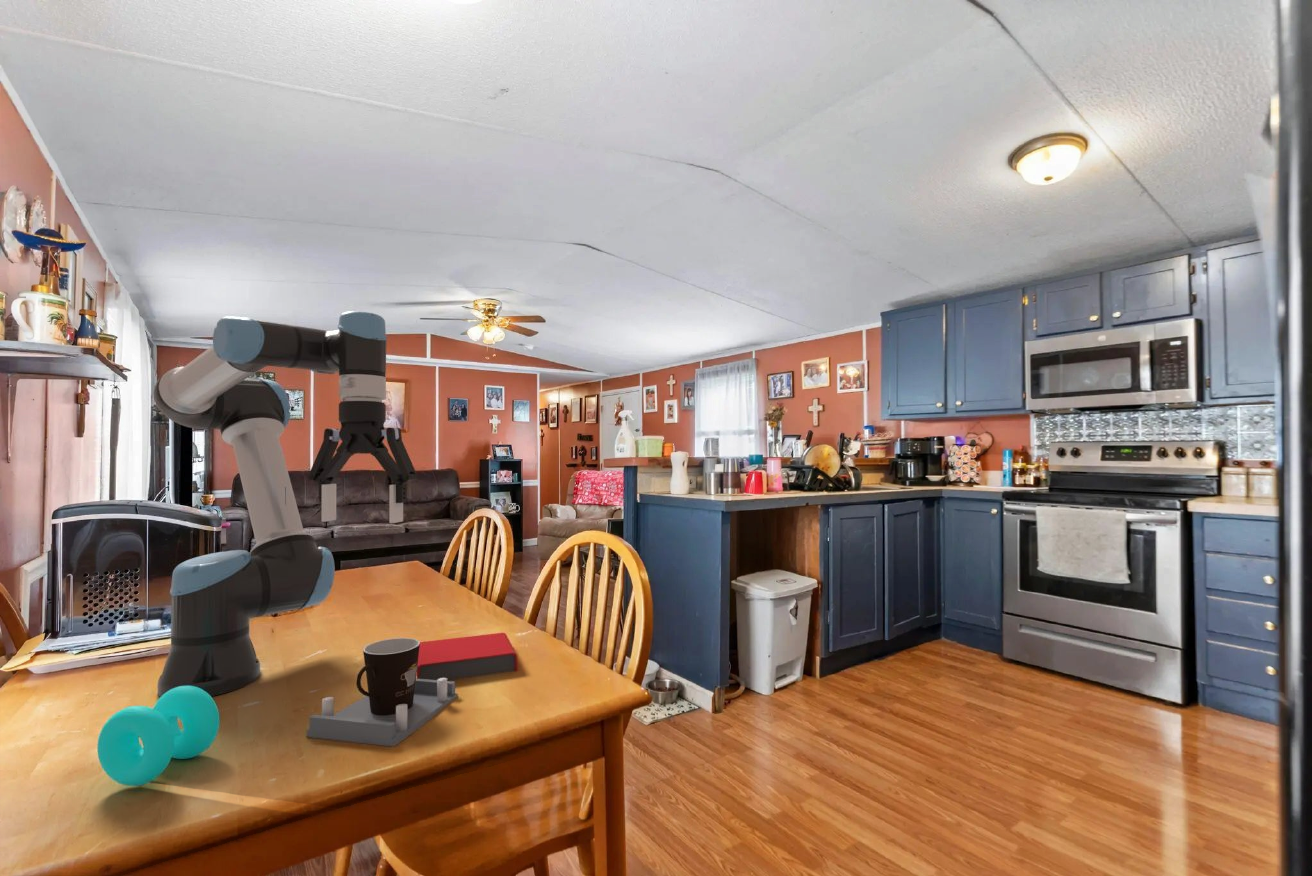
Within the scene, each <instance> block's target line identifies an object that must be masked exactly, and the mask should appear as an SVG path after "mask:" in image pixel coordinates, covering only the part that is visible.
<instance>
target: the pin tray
mask: <svg viewBox="0 0 1312 876" xmlns="http://www.w3.org/2000/svg"><path fill="white" fill-rule="evenodd" d="M458 696H459V694H458V693H457V692H456V681H453V680H449V681H447V678H439V679H438V680H429V679H417V677H416V682H415V690H414V699H413V705H412V707H411V708H410V709H408V710H407V704H399V705H397V706H396V714H393V715H375V714H373V713H371V709H370V701H369V697H368V696H365V695H364V696H363V697H361V698H360V699H358V700H357V701H355V702H353V703H351V704H350V705H348V706H346V707H344V708H342V709H341V710H339V711H337V712H336V713H334V712H335V711H334V704H335V703H334V702H335V701H334V698H335V697H333V696H328V697H327V696H326V697H323V698H322V700H321V714H312V715H311V716H309V717H308V719H309V721H308V722H309V723H308V725H309V726H308V728H307V729H306V732H305V734H306V735H305V736H306V738H313V739H324V740H330V741H331V740H332V741H340V742H349V743H356V744H357V743H359V744H366V745H367V744H368V745H376V746H385V747H393V748H394V747H396V746H397V745H399V744H400V743H401V742H403V741H404V740H405V739H406V738H408V737H409V736H411V734H413V733H414V732H416V731H417V730H418V729H420V728H422V726H423V725H425V724H426V723H427V722H429V720H431V719H432V718H433V717H434V716H436V715H437V714H438V713H440V712H441V710H443V709H444V708H445V707H446V706H448V705H449V704H450V703H451V702H452V701H454V700H455V699H456V698H457V697H458ZM453 699H454V700H453Z"/></svg>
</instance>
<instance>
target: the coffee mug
mask: <svg viewBox="0 0 1312 876" xmlns="http://www.w3.org/2000/svg"><path fill="white" fill-rule="evenodd" d="M420 642H421V641H420V640H419V639H416V638H410V637H397V638H396V637H395V638H388V639H382V640H378V641H373V642H371V643H369V644H367V645H365V646H364V647H363V649H362V650H363V652H362V653H363V654H362V655H363V660H364V661H363V662H364V666H363V667H362V668H361V669H360V670H359V671H358V674H357V677H356V683H355V684H356V688H357V690H358V691H359V692H360V693H361V694H362V695H363V696H364V697H365V696H368V697H369V701H370V709H371V713H373V714H375V715H393V714H396V706H397V705H399V704H407V710H408V709H410V708H411V707H412V705H413V699H414V690H415V682H416V678H417V665H418V656H419V648H420ZM364 673H365V676H366V684H367V691H366V690H365V689H364V688H363V686H362V684H361V681H362V677H363V674H364Z"/></svg>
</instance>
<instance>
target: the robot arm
mask: <svg viewBox="0 0 1312 876" xmlns="http://www.w3.org/2000/svg"><path fill="white" fill-rule="evenodd" d="M338 318H339V321H338V324H337V328H338V329H335V330H325V329H320V328H314V327H313V328H312V327H307V326H298V325H293V324H286V323H279V322H274V321H273V322H272V321H269V320H261V319H257V318H256V319H255V318H252V317H247V316H246V317H245V316H243V317H240V316H229V315H228V316H224V317H221V318H220V319H219V320H218V321H217V322H216V326H215V327H214V330H213V335H212V346H210V347H209V348H207V349H206V350H204V351H203V352H202V353H200V354H199V355H198V356H196V358H194V359H193V360H191V361H190V362H188V363H187V364H186V365H184V366H177V367H174V368H172V369H169V370H168V371H166V372H165V373H164V374H163V375H161V376H160V377H159V378H158V379H157V381H156V383H155V385H154V388H153V400H154V402H155V405H156V407H157V409H158V410H159V411H160V412H161V413H162V414H163V415H164V416H165V417H166V418H168V419H169V420H171V421H172V422H174V423H176V424H178V425H181V426H183V427H186V428H191V429H199V430H219V431H220V434H221V435H220V436H221V438H222V441H224V442H225V443H226V444H227V445H230V446H232V449H233V452H234V456H235V460H236V466H237V469H238V473H239V477H240V482H241V485H242V490H243V494H244V499H245V502H246V506H247V511H248V516H249V518H250V523H251V526H252V531H253V535H254V540H255V544H254V546H253V547H252V548H251V549H250V552H249V551H248V550H245V549H233V550H227V551H218V552H212V553H208V554H204V555H200V556H196V557H193V558H190V559H187V560H185V561H183V562H181V563H179V564H178V565H176V567H175V568H174V569H173V571H172V578H171V584H170V585H171V586H170V590H169V595H170V597H171V598H170V604H171V605H170V648H169V652H168V654H167V656H166V657H167V658H166V660H165V662H164V666H163V670H162V672H161V675H160V676H159V678H158V680H157V696H158V697H159V698H160V697H161V696H162V695H163V694H165V693H166V692H168V691H169V690H171V689H173V688H176V687H179V686H195V687H198V688H200V689H202V690H204V691H205V692H207V693H208V694H209V695H210V696H211V697H213V696H214V697H215V696H217V695H218V696H219V695H222V694H226V693H230V692H233V691H235V690H239V689H242V688H244V687H246V686H249V685H251V684H252V683H254V682H255V681H256V680H258V678H259V677H260V676H261V662H260V660H259V659H258V658H257V654H256V650H255V648H254V645H253V642H252V639H251V637H250V622H251V621H250V620H252V619H255V618H260V617H264V616H269V615H274V614H275V615H276V614H279V613H285V612H289V611H294V610H303V609H306V608H307V607H311V606H312V607H313V606H315V605H319V604H321V603H322V602H324V601H326V598H327V597H328V596H329V595H330V592H331V590H332V587H333V584H334V582H335V571H336V567H335V560H334V556H333V554H332V552H331V550H329V549H328V547H324V546H317V542H316V540H315V537H314V535H313V534H311V533H309V532H306V531H305V530H304V527H303V524H302V519H301V515H300V513H299V508H298V505H297V501H296V497H295V493H294V489H293V484H292V482H291V477H290V475H289V470H288V467H287V464H286V460H285V456H284V452H283V449H282V445H281V442H280V437H281V436H282V434H283V433H284V432H285V428H287V426H288V424H289V422H290V418H291V412H290V409H291V403H290V400H289V399H290V398H289V397H288V394H287V392H286V390H285V389H284V387H283V386H281V385H280V383H278V382H277V381H274V380H270V379H263V378H260V377H251V376H252V375H254V374H256V373H258V372H259V371H261V370H262V369H264V368H266V367H277V368H288V369H289V368H290V369H298V370H307V371H308V370H309V371H311V372H313V373H315V374H316V373H317V374H320V375H321V374H328V375H333V374H336V373H337V374H338V398H339V399H341V400H342V401H340V402H339V403H338V421H339V423H340V425H341V426H340V429H338V428H325V429H324V431H323V441H322V443H321V446H320V448H319V450H318V452H317V455H316V457H315V459H314V462H313V464H312V467H311V468H310V471H309V473H308V476H307V479H308V480H309V481H314V482H315V483H317V484H318V501H319V502H320V503H321V522H323V523H324V522H331V521H337V483H335V478H336V477H337V476H338V475H339V473H340V472H341V471H342V469H343V468H344V466H345V465H346V464H347V462H348V461H349V460H350V458H351V457H353V456H354V455H355V454H356V455H357V454H359V455H361V454H362V455H363V454H364V455H365V454H366V455H367V454H370V455H371V456H372V457H374V458H375V459H376V461H377V462H378V463H379V464H380V466H381V467H382V468H383V470H384V471H385V473H386V474H387V475H388V477H389V478H390V479H391V481H392V483H391V484H389V512H388V513H389V514H388V515H389V517H388V518H389V521H388V522H389V524H396V523H401V522H404V504H405V503H407V499H408V497H407V496H408V495H407V494H408V492H407V489H408V487H407V486H408V484H409V483H410V482H412V481H416V480H417V479H418V474H417V471H416V469H415V467H414V465H413V462H412V460H411V458H410V456H409V453H408V452H407V451H408V450H407V449H406V446H405V445H404V442H403V440H402V439H403V436H402V430H401V428H399V427H387V428H386V429H385V426H384V424H385V423H386V419H387V417H386V416H387V415H386V414H387V413H386V411H387V409H386V408H387V406H386V404H385V402H383V401H385V400H386V399H387V390H386V389H387V380H386V379H387V378H386V374H387V373H386V370H387V369H386V368H387V340H388V337H387V334H386V332H387V331H386V320H385V319H384V317H382V316H381V315H379V314H378V313H377V314H376V313H374V312H367V311H355V310H354V311H345V312H343V313H341V314H340V316H339V317H338ZM384 440H386V441H387V444H388V447H389V449H388V448H387V446H386V445H385V443H384ZM340 441H341V443H340V444H339V442H340ZM389 450H390V451H391V454H392V455H391V454H390V452H389ZM285 487H286V505H285Z"/></svg>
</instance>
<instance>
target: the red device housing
mask: <svg viewBox="0 0 1312 876" xmlns="http://www.w3.org/2000/svg"><path fill="white" fill-rule="evenodd" d="M513 671H515V672H518V654H517V653H516V651H515V649H514V647H513V644H512V643H511V641H510V639H509V637H508V635H507V634H506V632H496V633H489V634H488V633H487V634H478V635H472V636H471V635H470V636H469V635H468V636H461V637H452V638H445V639H437V640H427V641H420V648H419V656H418V665H417V673H416V678H417V679H429V680H438V679H439V678H447V680H449V681H453V680H454V681H455V680H460V678H462V679H469V678H474V677H475V678H476V677H479V676H480V677H481V676H488V675H489V676H490V675H495V674H499V673H500V674H501V673H507V672H513Z"/></svg>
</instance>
